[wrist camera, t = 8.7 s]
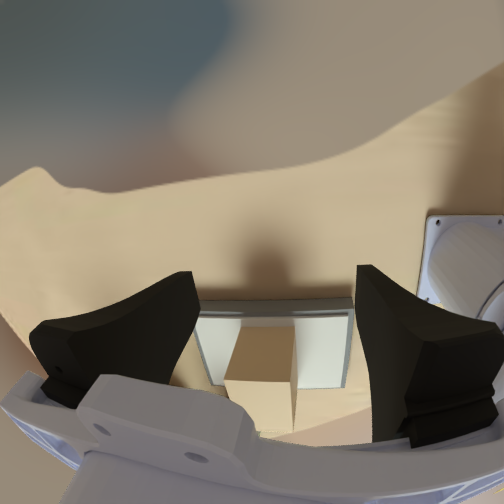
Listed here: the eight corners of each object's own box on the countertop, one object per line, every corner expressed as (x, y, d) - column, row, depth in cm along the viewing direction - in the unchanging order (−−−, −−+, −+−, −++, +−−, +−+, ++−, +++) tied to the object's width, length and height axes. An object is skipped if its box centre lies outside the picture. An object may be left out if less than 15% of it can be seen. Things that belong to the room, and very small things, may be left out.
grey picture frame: (351, 297, 22) (354, 310, 21) (343, 375, 26) (344, 390, 24) (193, 300, 25) (186, 312, 24) (215, 373, 29) (210, 386, 27)
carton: (297, 381, 25) (293, 432, 19) (252, 380, 26) (240, 429, 20) (295, 326, 22) (289, 382, 17) (241, 326, 23) (223, 379, 18)
